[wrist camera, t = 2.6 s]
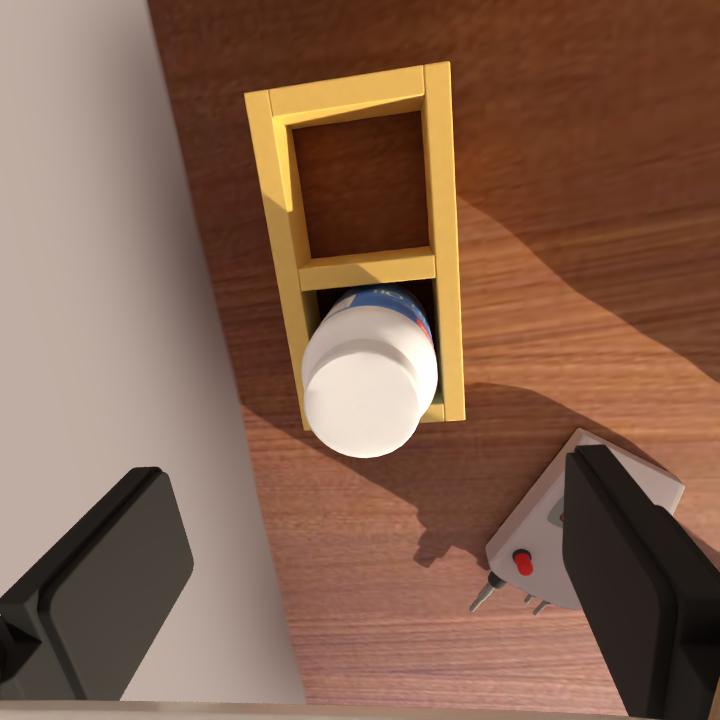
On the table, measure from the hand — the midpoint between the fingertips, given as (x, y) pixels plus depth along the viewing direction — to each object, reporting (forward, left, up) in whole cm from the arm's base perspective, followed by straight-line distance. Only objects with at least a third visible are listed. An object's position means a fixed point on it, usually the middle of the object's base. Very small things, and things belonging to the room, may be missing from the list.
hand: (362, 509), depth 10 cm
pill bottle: (0, 0, -15) cm, 15 cm away
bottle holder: (0, +4, -15) cm, 15 cm away
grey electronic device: (+10, -13, -15) cm, 22 cm away
